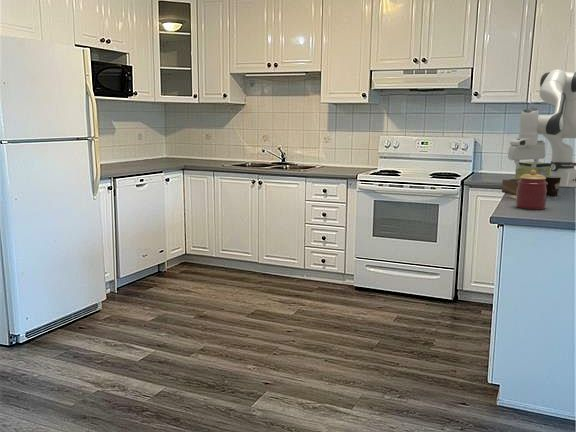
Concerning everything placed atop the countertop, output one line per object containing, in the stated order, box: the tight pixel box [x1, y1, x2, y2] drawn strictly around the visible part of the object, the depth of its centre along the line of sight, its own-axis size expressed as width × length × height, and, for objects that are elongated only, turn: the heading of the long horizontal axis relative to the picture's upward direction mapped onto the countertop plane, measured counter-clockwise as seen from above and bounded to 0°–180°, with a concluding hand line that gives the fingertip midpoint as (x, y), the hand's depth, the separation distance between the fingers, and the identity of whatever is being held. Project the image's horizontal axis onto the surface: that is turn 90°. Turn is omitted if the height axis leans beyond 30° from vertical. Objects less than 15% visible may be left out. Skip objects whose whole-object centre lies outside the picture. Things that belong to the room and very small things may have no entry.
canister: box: [515, 170, 548, 210], centre depth 257 cm, size 13×13×18 cm
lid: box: [504, 191, 517, 200], centre depth 285 cm, size 13×13×5 cm
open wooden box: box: [501, 178, 520, 196], centre depth 301 cm, size 12×12×7 cm
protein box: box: [514, 160, 551, 179], centre depth 313 cm, size 10×16×16 cm
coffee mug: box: [544, 176, 561, 197], centre depth 293 cm, size 12×9×10 cm
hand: (525, 168), depth 283 cm, fingers open, 8 cm apart
